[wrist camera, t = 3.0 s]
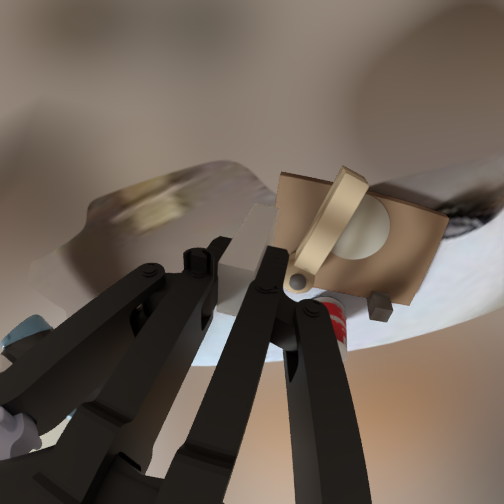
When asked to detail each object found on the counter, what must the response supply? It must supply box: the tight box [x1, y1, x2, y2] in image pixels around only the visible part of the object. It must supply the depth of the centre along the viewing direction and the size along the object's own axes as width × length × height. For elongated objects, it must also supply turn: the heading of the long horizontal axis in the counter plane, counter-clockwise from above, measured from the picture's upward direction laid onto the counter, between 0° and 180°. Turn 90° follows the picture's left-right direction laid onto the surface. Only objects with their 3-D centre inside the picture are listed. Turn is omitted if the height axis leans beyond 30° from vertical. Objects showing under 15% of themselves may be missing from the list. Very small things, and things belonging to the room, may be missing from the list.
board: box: [273, 172, 449, 322], centre depth 29 cm, size 20×14×5 cm
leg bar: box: [283, 166, 369, 293], centre depth 27 cm, size 14×4×4 cm, turn 159°
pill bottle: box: [314, 297, 347, 363], centre depth 32 cm, size 6×6×11 cm
